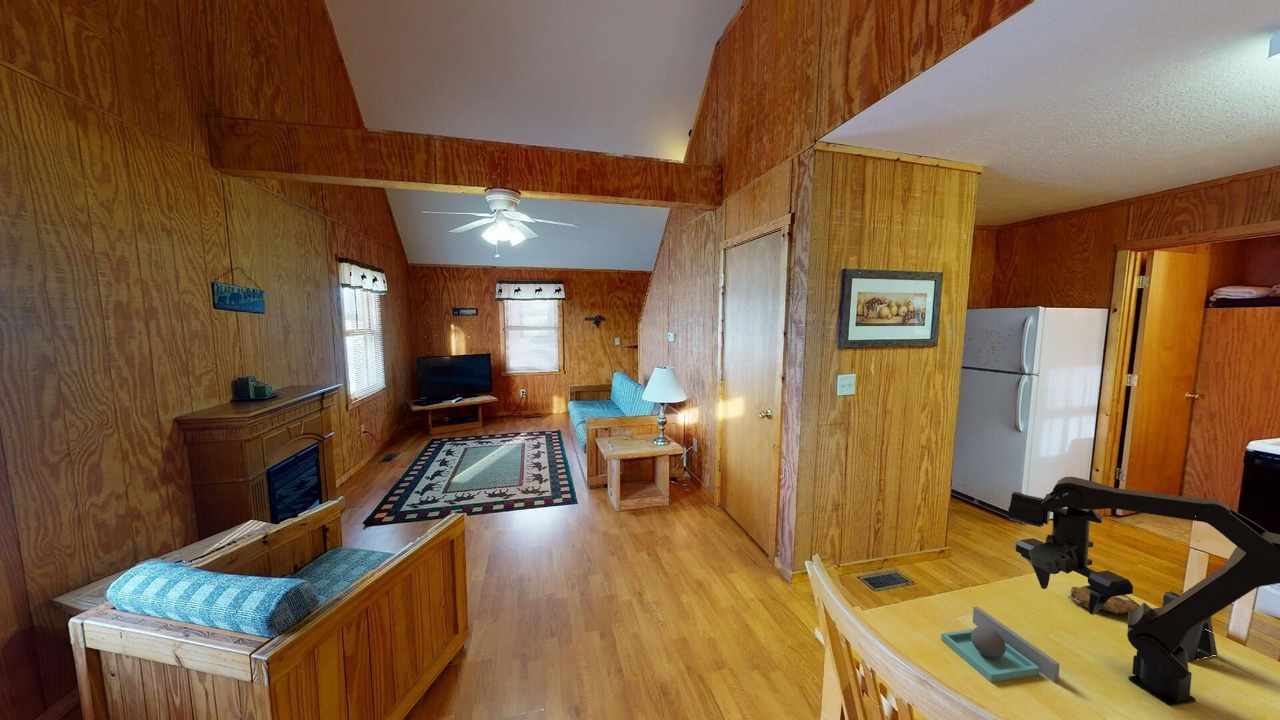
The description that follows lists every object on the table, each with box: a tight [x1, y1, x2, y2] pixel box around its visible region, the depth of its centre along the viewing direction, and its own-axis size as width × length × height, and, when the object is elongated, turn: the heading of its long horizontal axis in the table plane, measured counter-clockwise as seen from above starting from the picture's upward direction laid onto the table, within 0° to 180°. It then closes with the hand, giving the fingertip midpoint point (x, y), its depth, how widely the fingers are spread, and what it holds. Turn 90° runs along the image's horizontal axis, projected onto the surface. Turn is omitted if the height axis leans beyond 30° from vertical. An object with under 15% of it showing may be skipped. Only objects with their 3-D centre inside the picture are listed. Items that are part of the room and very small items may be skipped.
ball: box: [971, 626, 1006, 658], centre depth 93 cm, size 6×6×6 cm
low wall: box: [972, 606, 1061, 683], centre depth 95 cm, size 18×1×4 cm, turn 8°
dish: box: [940, 628, 1040, 683], centre depth 93 cm, size 12×12×2 cm
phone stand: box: [1161, 590, 1218, 663], centre depth 94 cm, size 9×6×12 cm, turn 100°
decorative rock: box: [1067, 584, 1141, 614], centre depth 109 cm, size 11×4×15 cm
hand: (1067, 600), depth 94 cm, fingers open, 9 cm apart
